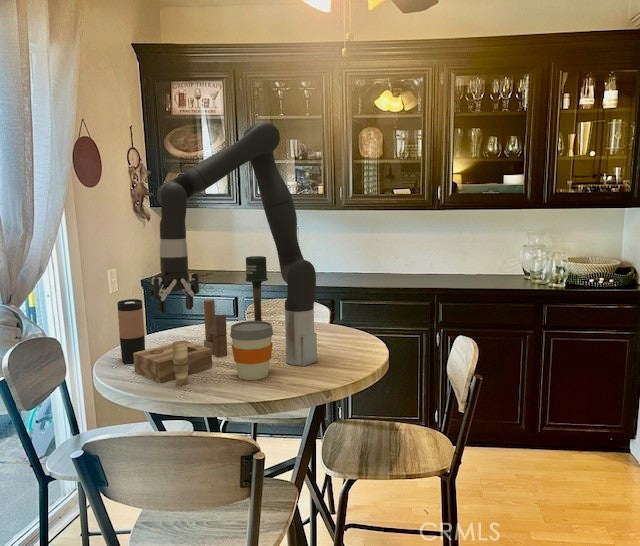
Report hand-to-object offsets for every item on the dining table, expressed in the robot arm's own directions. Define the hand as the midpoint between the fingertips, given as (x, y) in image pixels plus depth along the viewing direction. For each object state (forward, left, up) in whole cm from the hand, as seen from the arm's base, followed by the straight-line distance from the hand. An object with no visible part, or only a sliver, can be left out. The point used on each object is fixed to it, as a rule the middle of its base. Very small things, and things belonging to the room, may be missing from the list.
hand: (176, 311), depth 146 cm
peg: (-3, +1, -21) cm, 21 cm away
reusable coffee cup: (-13, -17, -21) cm, 30 cm away
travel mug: (+27, 0, -21) cm, 34 cm away
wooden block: (+14, -23, -21) cm, 34 cm away
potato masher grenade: (+22, -49, -21) cm, 58 cm away
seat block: (+10, -4, -21) cm, 23 cm away
